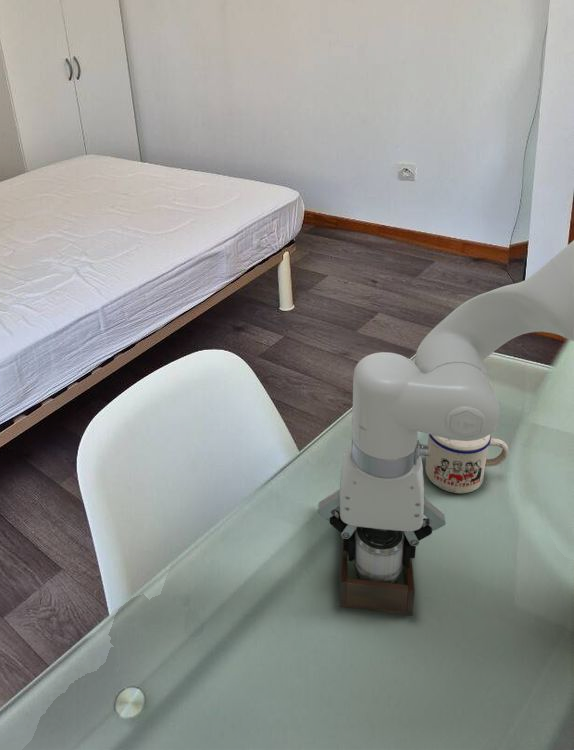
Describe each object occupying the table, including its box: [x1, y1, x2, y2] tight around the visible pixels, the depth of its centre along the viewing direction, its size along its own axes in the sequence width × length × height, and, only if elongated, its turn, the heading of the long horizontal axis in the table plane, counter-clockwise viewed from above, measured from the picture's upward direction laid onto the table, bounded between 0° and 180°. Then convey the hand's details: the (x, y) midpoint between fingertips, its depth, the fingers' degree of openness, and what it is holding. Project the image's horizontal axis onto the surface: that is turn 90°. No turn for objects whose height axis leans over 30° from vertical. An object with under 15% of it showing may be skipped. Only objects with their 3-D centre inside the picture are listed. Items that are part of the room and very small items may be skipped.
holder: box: [339, 535, 416, 616], centre depth 95 cm, size 9×17×4 cm, turn 168°
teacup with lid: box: [425, 434, 509, 494], centre depth 106 cm, size 12×9×12 cm
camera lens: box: [354, 527, 404, 584], centre depth 90 cm, size 6×6×8 cm
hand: (378, 554), depth 90 cm, fingers closed on camera lens, 6 cm apart
